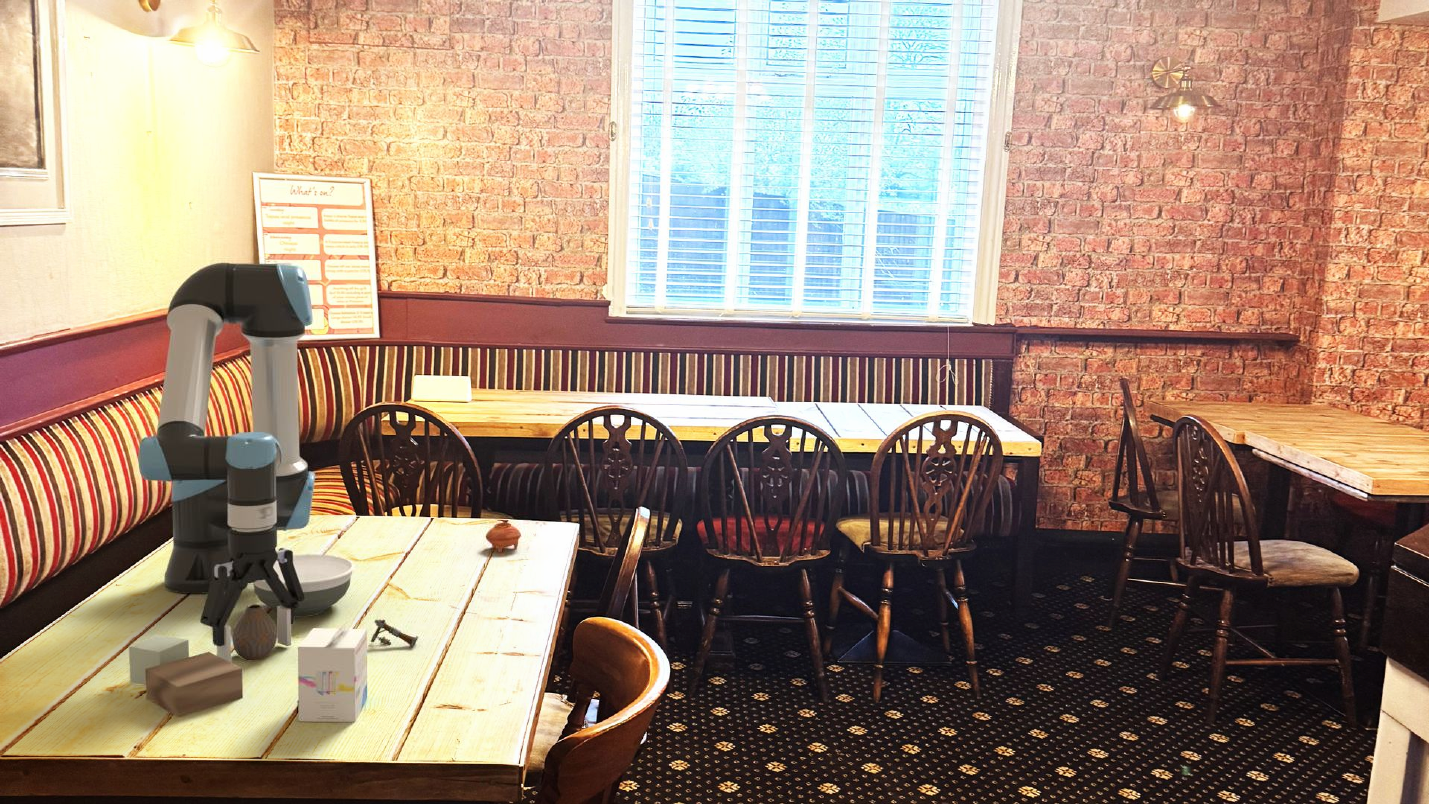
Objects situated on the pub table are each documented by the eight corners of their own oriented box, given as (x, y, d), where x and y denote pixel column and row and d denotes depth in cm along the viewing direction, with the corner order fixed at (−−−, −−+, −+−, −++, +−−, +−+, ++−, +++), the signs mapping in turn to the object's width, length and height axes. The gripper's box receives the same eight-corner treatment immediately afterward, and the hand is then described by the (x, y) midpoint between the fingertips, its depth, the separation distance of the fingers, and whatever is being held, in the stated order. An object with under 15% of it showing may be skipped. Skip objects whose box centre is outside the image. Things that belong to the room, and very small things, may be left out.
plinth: (146, 700, 174) (145, 668, 173) (209, 681, 182) (208, 651, 181) (178, 719, 168) (177, 686, 167) (242, 699, 176) (242, 668, 175)
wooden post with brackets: (368, 636, 202) (378, 614, 201) (409, 657, 201) (419, 635, 201) (364, 640, 200) (374, 618, 199) (405, 660, 200) (415, 638, 199)
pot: (520, 553, 259) (513, 525, 258) (487, 560, 259) (480, 532, 258) (526, 543, 267) (520, 515, 266) (494, 549, 267) (487, 522, 266)
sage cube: (130, 682, 180) (129, 646, 179) (159, 669, 186) (158, 634, 185) (160, 688, 178) (159, 652, 177) (189, 675, 184) (188, 639, 183)
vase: (261, 666, 189) (260, 615, 187) (224, 661, 190) (222, 610, 189) (285, 651, 195) (284, 602, 194) (248, 647, 197) (247, 598, 195)
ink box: (312, 699, 176) (311, 615, 174) (368, 699, 177) (368, 616, 175) (297, 722, 168) (296, 635, 166) (355, 722, 169) (355, 636, 167)
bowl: (255, 631, 204) (254, 587, 203) (245, 600, 221) (244, 559, 219) (363, 619, 213) (362, 576, 212) (345, 590, 229) (344, 550, 228)
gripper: (201, 544, 178) (204, 679, 181) (325, 517, 197) (326, 639, 200) (173, 536, 182) (177, 668, 185) (298, 510, 201) (299, 630, 204)
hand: (255, 653), depth 192 cm, fingers open, 11 cm apart
